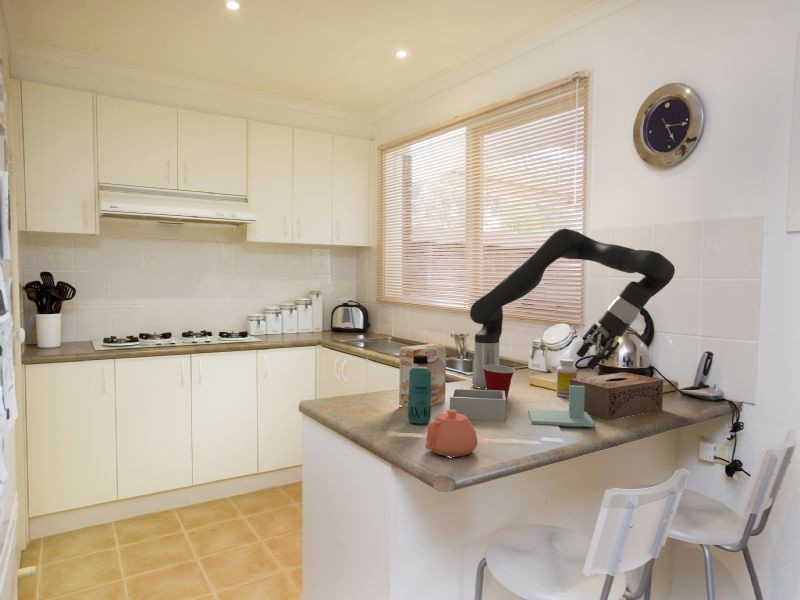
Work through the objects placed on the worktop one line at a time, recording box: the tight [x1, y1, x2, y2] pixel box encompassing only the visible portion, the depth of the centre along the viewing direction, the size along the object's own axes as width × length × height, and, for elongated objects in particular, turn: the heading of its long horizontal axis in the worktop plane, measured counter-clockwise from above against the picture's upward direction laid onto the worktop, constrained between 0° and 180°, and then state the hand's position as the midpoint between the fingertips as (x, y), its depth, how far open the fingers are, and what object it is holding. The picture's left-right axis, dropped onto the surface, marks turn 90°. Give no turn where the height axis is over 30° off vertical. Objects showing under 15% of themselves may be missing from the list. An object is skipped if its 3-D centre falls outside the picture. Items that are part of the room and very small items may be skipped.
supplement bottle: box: [556, 358, 578, 399], centre depth 186 cm, size 7×7×13 cm
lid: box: [528, 385, 596, 428], centre depth 153 cm, size 17×13×11 cm
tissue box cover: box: [570, 371, 664, 422], centre depth 167 cm, size 26×14×10 cm, turn 119°
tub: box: [449, 388, 507, 422], centre depth 158 cm, size 16×12×7 cm
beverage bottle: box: [407, 355, 432, 424], centre depth 148 cm, size 6×7×20 cm
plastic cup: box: [482, 364, 516, 402], centre depth 176 cm, size 11×11×12 cm
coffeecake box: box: [398, 343, 447, 408], centre depth 171 cm, size 15×7×20 cm, turn 131°
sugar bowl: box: [425, 409, 478, 457], centre depth 126 cm, size 12×14×10 cm
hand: (584, 361), depth 152 cm, fingers open, 8 cm apart
